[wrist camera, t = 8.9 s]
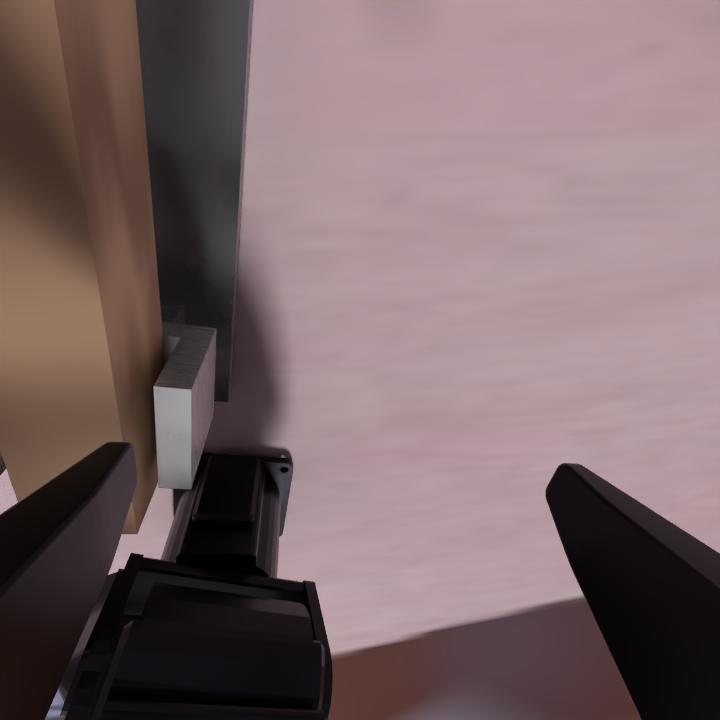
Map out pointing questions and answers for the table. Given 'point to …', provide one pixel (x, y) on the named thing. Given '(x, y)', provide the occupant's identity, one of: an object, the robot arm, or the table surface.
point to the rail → (75, 244)
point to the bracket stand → (194, 208)
